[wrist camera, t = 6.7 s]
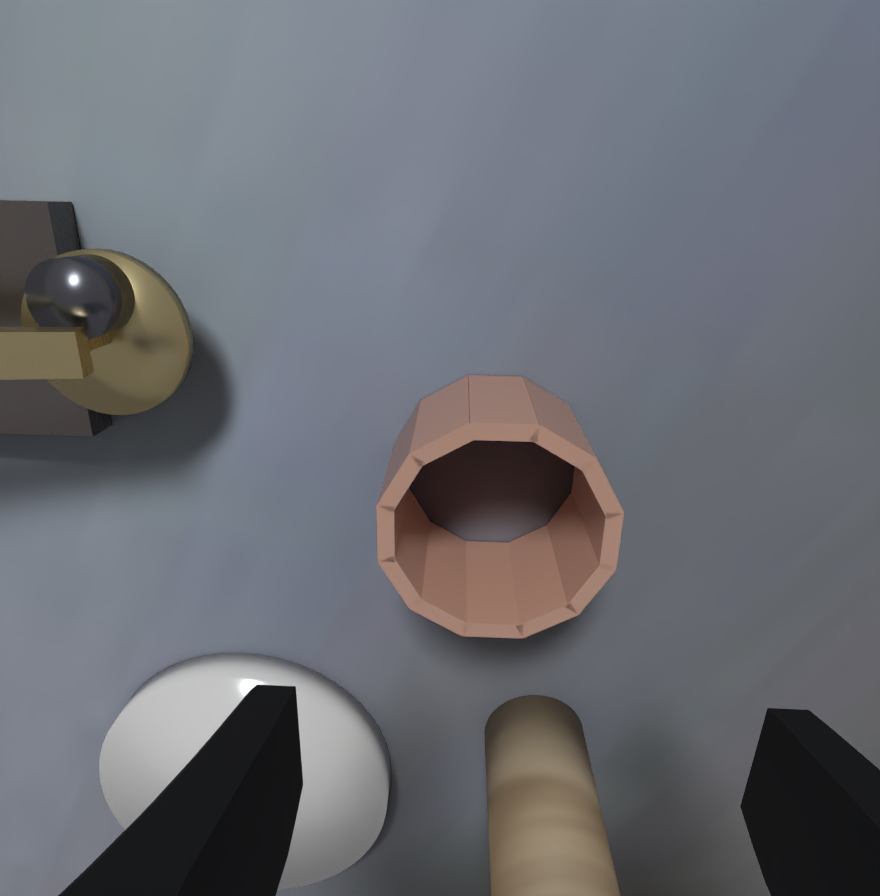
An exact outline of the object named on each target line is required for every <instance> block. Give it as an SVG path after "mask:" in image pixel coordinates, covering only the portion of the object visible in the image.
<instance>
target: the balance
mask: <svg viewBox="0 0 880 896" xmlns="http://www.w3.org/2000/svg"><path fill="white" fill-rule="evenodd" d="M192 357H193V334H192V328H191V324H190V321H189V318H188V314H187V312H186V310H185V308H184V306H183V303H182V302H181V300H180V298H179V297H178V295H177V294H176V292H175V291H174V290H173V288H172V287H171V286H170V284H169V283H168V282H167V281H166V280H165V279H164V278H163V277H162V276H161V275H160V274H159V273H157V272H156V271H155V270H154V269H153V268H151V267H150V266H148V265H147V264H145V263H144V262H142V261H140V260H138V259H136V258H134V257H132V256H130V255H127V254H124V253H122V252H118V251H113V250H108V249H84V250H80V246H79V240H78V235H77V229H76V224H75V218H74V213H73V207H72V202H51V201H7V200H0V434H24V435H55V436H86V437H93V436H95V435H96V434H98V433H100V432H101V431H103V430H104V429H106V428H108V427H109V426H111V425H112V422H111V416H110V414H111V415H130V414H136V413H140V412H143V411H147V410H149V409H151V408H153V407H155V406H157V405H158V404H160V403H161V402H163V401H164V400H166V399H167V398H169V397H170V396H171V395H172V394H173V393H175V392H176V391H177V390H178V388H179V387H180V386H181V384H182V383H183V381H184V380H185V378H186V376H187V374H188V371H189V369H190V366H191V362H192Z"/></svg>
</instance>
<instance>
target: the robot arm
mask: <svg viewBox="0 0 880 896" xmlns="http://www.w3.org/2000/svg"><path fill="white" fill-rule="evenodd" d="M302 788H303V775H302V762H301V749H300V736H299V722H298V709H297V696H296V686H277V685H256V686H255V687H253V688H252V689H251V690H250V691H249V692H248V693H247V695H246V696H245V697H244V698H243V699H242V701H241V702H240V703H239V704H238V705H237V707H236V708H235V709H234V710H233V711H232V713H231V714H230V715H229V716H228V717H227V719H226V720H225V721H224V722H223V723H222V725H221V726H220V727H219V728H218V729H217V730H216V732H215V733H214V734H213V735H212V736H211V737H210V739H209V740H208V741H207V742H206V743H205V744H204V745H203V747H202V748H201V749H200V750H199V751H198V752H197V754H196V755H195V756H194V757H193V758H192V759H191V760H190V761H189V763H188V764H187V765H186V766H185V767H184V768H183V769H182V770H181V771H180V772H179V774H178V775H177V776H176V777H175V778H174V779H173V780H172V781H171V782H170V783H169V784H168V786H167V787H166V788H165V789H164V790H163V791H162V792H161V793H160V794H159V795H158V797H157V798H156V799H155V800H154V801H153V802H152V803H151V804H150V805H149V806H148V807H147V808H146V809H145V810H144V811H143V813H142V814H141V815H140V816H139V817H138V818H137V819H136V820H135V821H134V822H133V823H132V824H131V825H130V826H129V827H128V828H127V829H126V830H125V831H124V832H123V833H122V834H121V835H120V836H119V837H118V838H117V839H116V840H115V841H114V842H113V843H112V844H111V845H110V846H109V847H108V848H107V849H106V850H105V851H104V852H103V853H102V854H101V855H100V856H99V857H98V858H97V859H96V860H95V861H94V862H93V863H92V864H91V865H90V866H89V867H88V868H87V869H86V870H85V871H84V872H83V873H82V874H81V875H80V876H79V877H78V878H76V879H75V880H74V881H73V882H72V883H71V884H70V885H69V886H68V887H67V888H66V889H65V890H64V891H63V892H62V893H61V894H60V895H58V896H275V895H276V892H277V889H278V886H279V883H280V880H281V877H282V873H283V870H284V867H285V864H286V860H287V857H288V853H289V849H290V844H291V840H292V835H293V831H294V826H295V821H296V817H297V812H298V807H299V802H300V797H301V792H302ZM741 809H742V813H743V816H744V819H745V822H746V825H747V829H748V832H749V835H750V838H751V841H752V844H753V848H754V850H755V853H756V856H757V859H758V862H759V865H760V868H761V871H762V874H763V877H764V879H765V882H766V885H767V887H768V889H769V891H770V894H771V896H880V770H879V769H878V768H877V767H876V766H874V765H873V764H872V763H871V762H870V761H869V760H867V759H866V758H865V757H864V756H863V755H862V754H861V753H859V752H858V751H857V750H856V749H855V748H854V747H852V746H851V745H850V744H849V743H848V742H847V741H845V740H844V739H843V738H842V737H841V736H839V735H838V734H837V733H836V732H835V731H834V730H832V729H831V728H830V727H829V726H828V725H826V724H825V723H824V722H823V721H821V720H820V719H819V718H818V717H817V716H815V715H814V714H813V713H812V712H810V711H809V710H795V709H773V708H768V709H767V712H766V716H765V720H764V723H763V727H762V730H761V734H760V738H759V741H758V745H757V749H756V752H755V756H754V759H753V763H752V767H751V770H750V774H749V777H748V781H747V785H746V788H745V792H744V796H743V799H742V803H741Z"/></svg>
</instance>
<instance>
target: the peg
mask: <svg viewBox="0 0 880 896" xmlns="http://www.w3.org/2000/svg"><path fill="white" fill-rule="evenodd" d="M485 754H486V780H487V805H488V830H489V856H490V881H491V896H620V892H619V887H618V883H617V878H616V874H615V869H614V865H613V861H612V856H611V852H610V847H609V843H608V839H607V834H606V830H605V825H604V821H603V817H602V812H601V808H600V803H599V799H598V795H597V790H596V786H595V781H594V777H593V773H592V768H591V764H590V759H589V755H588V751H587V746H586V742H585V737H584V733H583V729H582V725H581V721H580V719H579V717H578V716H577V714H576V713H575V712H574V711H573V710H572V708H570V707H569V706H568V705H566V704H565V703H563V702H561V701H559V700H557V699H554V698H551V697H546V696H539V695H530V696H522V697H518V698H515V699H512V700H510V701H507V702H505V703H504V704H502V705H501V706H499V707H498V708H497V709H496V710H495V711H494V712H493V713H492V714H491V716H490V717H489V719H488V721H487V723H486V726H485Z"/></svg>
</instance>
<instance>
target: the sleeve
mask: <svg viewBox="0 0 880 896" xmlns="http://www.w3.org/2000/svg"><path fill="white" fill-rule="evenodd" d="M473 440H486V441H522V442H535V443H536V444H538V445H540V446H541V447H543V448H545V449H546V450H548V451H550V452H551V453H553V454H555V455H557V456H558V457H560V458H562V459H563V460H565V461H567V462H568V463H570V464H572V465H574V475H573V484H572V492H571V494H570V495H569V496H568V498H567V499H566V500H565V502H564V503H563V504H562V506H561V507H560V508H559V509H558V511H557V512H556V513H555V515H554V516H553V517H552V519H551V520H550V521H549V523H548V524H547V525H546V526H543V527H541V528H539V529H537V530H535V531H532V532H530V533H528V534H526V535H524V536H521V537H519V538H517V539H515V540H513V541H511V542H478V541H465V540H463V539H461V538H460V537H458V536H456V535H454V534H452V533H450V532H449V531H447V530H445V529H443V528H441V527H440V526H438V525H436V524H434V523H432V522H430V520H429V519H428V517H427V516H426V514H425V512H424V511H423V509H422V508H421V506H420V504H419V503H418V501H417V500H416V498H415V496H414V495H413V493H412V492H411V490H410V488H409V486H410V485H411V483H412V482H413V480H414V478H415V477H416V475H417V474H418V472H419V471H420V469H421V468H422V466H423V465H425V464H427V463H429V462H431V461H433V460H435V459H437V458H439V457H441V456H443V455H445V454H447V453H449V452H451V451H453V450H455V449H457V448H459V447H461V446H463V445H465V444H467V443H469V442H471V441H473ZM623 517H624V512H623V510H622V508H621V506H620V504H619V502H618V500H617V498H616V496H615V494H614V492H613V490H612V488H611V486H610V484H609V482H608V480H607V478H606V476H605V474H604V472H603V470H602V468H601V466H600V464H599V462H598V460H597V458H596V456H595V454H594V452H593V450H592V448H591V447H590V445H589V443H588V441H587V439H586V437H585V435H584V433H583V431H582V429H581V428H580V426H579V424H578V422H577V420H576V418H575V416H574V414H573V412H572V410H571V409H570V407H569V405H568V404H567V403H566V402H564V401H562V400H561V399H559V398H557V397H556V396H554V395H552V394H551V393H549V392H548V391H546V390H544V389H543V388H541V387H539V386H538V385H536V384H534V383H533V382H531V381H529V380H528V379H526V378H525V377H518V376H478V375H469V376H466V377H464V378H462V379H460V380H458V381H456V382H455V383H453V384H451V385H449V386H447V387H445V388H443V389H441V390H439V391H437V392H436V393H434V394H432V395H430V396H428V397H426V398H424V399H422V400H421V401H420V403H419V404H418V406H417V407H416V409H415V411H414V412H413V414H412V416H411V417H410V419H409V420H408V422H407V424H406V425H405V427H404V429H403V430H402V432H401V433H400V435H399V437H398V438H397V440H396V442H395V444H394V447H393V451H392V454H391V458H390V461H389V465H388V468H387V472H386V475H385V478H384V482H383V485H382V489H381V492H380V496H379V499H378V503H377V543H378V563H379V564H380V566H381V567H382V569H383V570H384V572H385V573H386V575H387V576H388V578H389V579H390V581H391V582H392V584H393V585H394V587H395V588H396V590H397V591H398V593H399V594H400V596H401V597H402V599H403V600H404V602H405V603H406V605H407V606H408V607H409V609H410V610H412V611H414V612H416V613H418V614H420V615H422V616H424V617H426V618H428V619H430V620H431V621H433V622H435V623H437V624H439V625H441V626H443V627H445V628H447V629H449V630H451V631H453V632H455V633H457V634H458V635H460V636H467V637H494V638H522V637H523V638H525V637H528V636H530V635H532V634H535V633H537V632H540V631H542V630H544V629H547V628H549V627H551V626H554V625H556V624H559V623H561V622H563V621H566V620H568V619H570V618H573V617H575V616H578V615H579V614H580V613H581V612H582V610H583V609H584V608H585V607H586V606H587V604H588V603H589V602H590V601H591V600H592V598H593V597H594V596H595V595H596V594H597V592H598V591H599V590H600V589H601V588H602V586H603V585H604V584H605V583H606V582H607V580H608V579H609V578H610V577H611V576H612V574H613V573H614V572H615V571H616V567H617V560H618V553H619V546H620V539H621V531H622V524H623Z"/></svg>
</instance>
